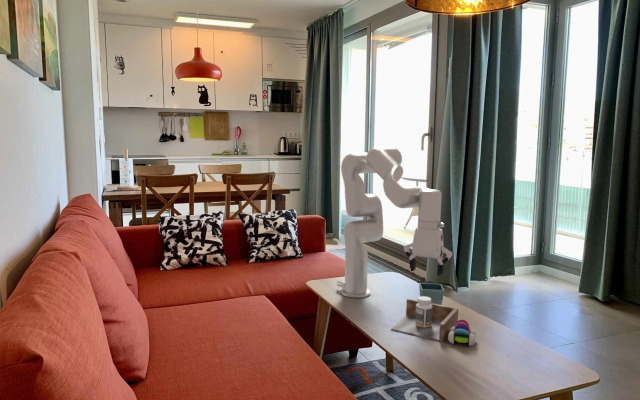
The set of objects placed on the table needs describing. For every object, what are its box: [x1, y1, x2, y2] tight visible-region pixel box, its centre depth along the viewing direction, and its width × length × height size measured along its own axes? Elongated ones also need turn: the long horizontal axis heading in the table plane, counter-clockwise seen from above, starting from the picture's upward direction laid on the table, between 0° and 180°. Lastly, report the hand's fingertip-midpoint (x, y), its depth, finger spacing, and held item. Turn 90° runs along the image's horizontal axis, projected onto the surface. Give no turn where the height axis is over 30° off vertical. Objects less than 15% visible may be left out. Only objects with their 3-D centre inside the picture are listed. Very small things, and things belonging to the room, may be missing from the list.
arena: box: [390, 298, 459, 343], centre depth 175 cm, size 19×19×6 cm
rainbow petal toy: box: [447, 319, 477, 347], centre depth 163 cm, size 8×10×7 cm
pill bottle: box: [415, 296, 432, 328], centre depth 175 cm, size 6×6×10 cm
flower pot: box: [418, 282, 445, 305], centre depth 194 cm, size 9×9×9 cm
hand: (426, 272), depth 173 cm, fingers open, 9 cm apart
